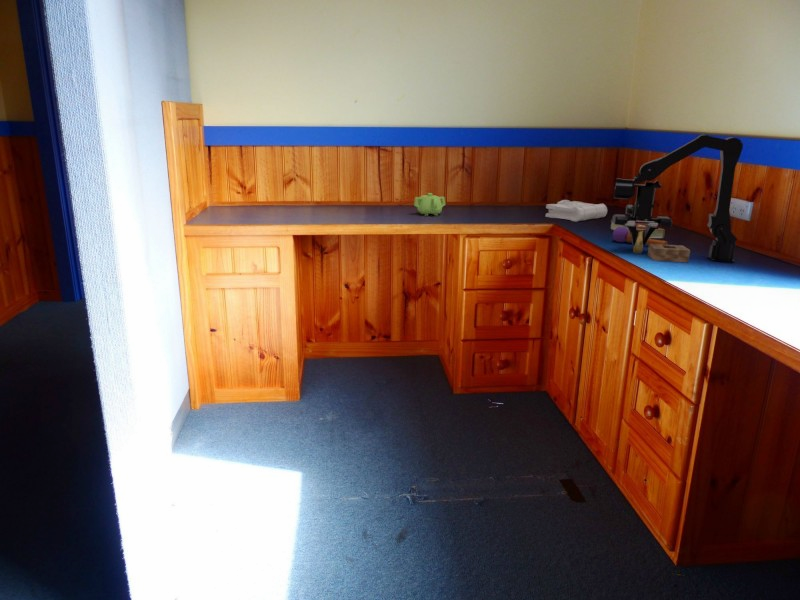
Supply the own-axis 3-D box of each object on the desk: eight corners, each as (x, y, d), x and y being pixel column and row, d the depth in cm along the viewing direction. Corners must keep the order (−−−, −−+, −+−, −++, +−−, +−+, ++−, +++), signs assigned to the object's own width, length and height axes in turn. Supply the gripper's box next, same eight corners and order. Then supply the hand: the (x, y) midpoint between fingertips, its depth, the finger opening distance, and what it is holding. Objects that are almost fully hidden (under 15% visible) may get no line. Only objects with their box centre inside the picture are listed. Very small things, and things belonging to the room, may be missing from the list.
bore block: (681, 257, 210) (683, 245, 209) (688, 262, 203) (690, 250, 202) (647, 255, 212) (649, 243, 211) (653, 260, 204) (655, 248, 203)
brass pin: (640, 251, 217) (644, 229, 215) (642, 253, 214) (646, 230, 212) (632, 251, 218) (635, 228, 215) (633, 253, 215) (637, 230, 212)
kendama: (662, 240, 218) (610, 227, 232) (660, 255, 221) (609, 242, 234) (670, 235, 222) (618, 223, 235) (667, 250, 225) (617, 237, 238)
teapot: (445, 214, 286) (446, 192, 283) (436, 217, 276) (437, 195, 273) (422, 212, 291) (423, 191, 288) (412, 215, 281) (413, 193, 278)
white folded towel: (612, 217, 292) (614, 201, 289) (578, 223, 274) (580, 205, 272) (577, 212, 306) (579, 197, 303) (543, 217, 288) (544, 201, 286)
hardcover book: (635, 229, 263) (636, 219, 262) (663, 239, 243) (665, 228, 242) (609, 229, 261) (610, 219, 260) (635, 239, 241) (637, 228, 240)
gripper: (666, 198, 217) (660, 242, 222) (612, 196, 220) (606, 239, 224) (675, 202, 207) (668, 248, 211) (618, 200, 209) (612, 245, 214)
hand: (638, 245), depth 215 cm, fingers closed on brass pin, 3 cm apart
